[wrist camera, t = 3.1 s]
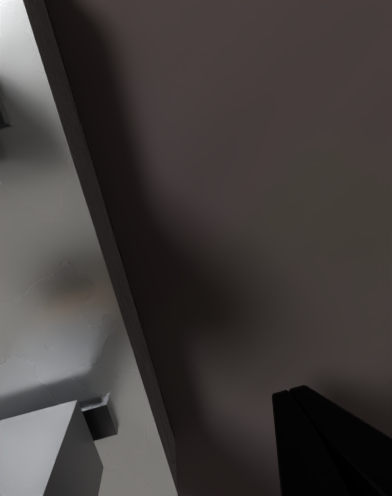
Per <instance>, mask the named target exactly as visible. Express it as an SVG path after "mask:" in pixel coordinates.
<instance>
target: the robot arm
mask: <svg viewBox="0 0 392 496" xmlns="http://www.w3.org/2000/svg"><path fill="white" fill-rule="evenodd" d="M272 403H273V414H274V424H275V435H276V446H277V456H278V467H279V478H280V488H281V496H392V438H390V437H389V436H387V435H385V434H384V433H382V432H380V431H379V430H377V429H376V428H374V427H372V426H371V425H369V424H367V423H366V422H364V421H363V420H361V419H359V418H358V417H356V416H355V415H353V414H351V413H350V412H348V411H346V410H345V409H343V408H342V407H340V406H338V405H337V404H335V403H334V402H332V401H330V400H329V399H327V398H325V397H324V396H322V395H321V394H319V393H317V392H316V391H314V390H312V389H311V388H309V387H308V386H305V385H302V386H298V387H294V388H291V389H290V390H289V391H287V390H284V391H280V392H277V393H273V394H272Z"/></svg>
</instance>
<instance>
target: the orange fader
mask: <svg viewBox="0 0 392 496" xmlns="http://www.w3.org/2000/svg"><path fill="white" fill-rule="evenodd" d="M103 468H104V467H103V464H102V461H101V459H100V456H99V454H98V451H97V449H96V446H95V443H94V441H93V438H92V436H91V433H90V431H89V428H88V426H87V423H86V420H85V418H84V415H83V413H82V410H81V408H80V405H79V403H78V400H74V401H71V402H67V403H63V404H60V405H56V406H52V407H48V408H45V409H41V410H37V411H34V412H30V413H26V414H22V415H19V416H15V417H11V418H8V419H4V420H0V496H98V494H99V489H100V483H101V478H102V473H103Z"/></svg>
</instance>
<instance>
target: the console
mask: <svg viewBox="0 0 392 496" xmlns="http://www.w3.org/2000/svg"><path fill="white" fill-rule="evenodd" d="M74 400H78V403H79V405H80V408H81V410H82V413H83V415H84V418H85V420H86V423H87V426H88V428H89V431H90V433H91V436H92V438H93V441H94V443H95V446H96V449H97V451H98V454H99V456H100V459H101V461H102V464H103V467H104V468H103V473H102V478H101V483H100V489H99V494H98V496H178V486H177V469H176V453H175V439H174V435H173V432H172V429H171V425H170V422H169V419H168V415H167V412H166V409H165V405H164V402H163V398H162V395H161V392H160V388H159V385H158V382H157V378H156V375H155V372H154V368H153V365H152V361H151V358H150V355H149V351H148V348H147V345H146V341H145V338H144V334H143V331H142V328H141V324H140V321H139V318H138V314H137V311H136V308H135V304H134V301H133V297H132V294H131V291H130V287H129V284H128V281H127V277H126V274H125V270H124V267H123V264H122V260H121V257H120V254H119V250H118V247H117V244H116V240H115V237H114V233H113V230H112V227H111V223H110V220H109V217H108V213H107V210H106V207H105V203H104V200H103V196H102V193H101V190H100V186H99V183H98V180H97V176H96V173H95V169H94V166H93V163H92V159H91V156H90V153H89V149H88V146H87V143H86V139H85V136H84V132H83V129H82V126H81V122H80V119H79V116H78V112H77V109H76V106H75V102H74V99H73V95H72V92H71V89H70V85H69V82H68V79H67V75H66V72H65V68H64V65H63V62H62V58H61V55H60V52H59V48H58V45H57V42H56V38H55V35H54V31H53V28H52V25H51V21H50V18H49V15H48V11H47V8H46V4H45V1H44V0H0V420H4V419H8V418H11V417H15V416H19V415H22V414H26V413H30V412H34V411H37V410H41V409H45V408H48V407H52V406H56V405H60V404H63V403H67V402H71V401H74Z"/></svg>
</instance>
